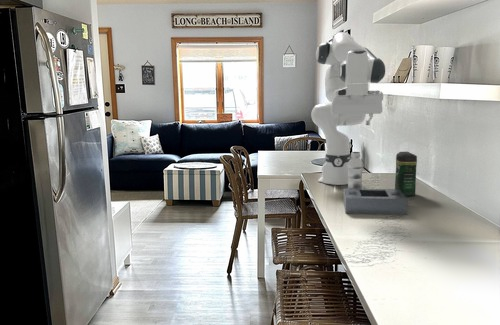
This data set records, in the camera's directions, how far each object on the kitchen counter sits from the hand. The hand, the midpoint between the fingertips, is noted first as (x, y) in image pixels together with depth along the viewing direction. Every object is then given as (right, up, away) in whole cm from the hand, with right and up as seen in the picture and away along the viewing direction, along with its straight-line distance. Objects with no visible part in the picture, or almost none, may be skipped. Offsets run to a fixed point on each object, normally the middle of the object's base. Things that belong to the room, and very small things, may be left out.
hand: (356, 125), depth 173 cm
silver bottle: (+1, -31, +6) cm, 32 cm away
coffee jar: (+24, -29, +12) cm, 40 cm away
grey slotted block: (+5, -33, -8) cm, 34 cm away
